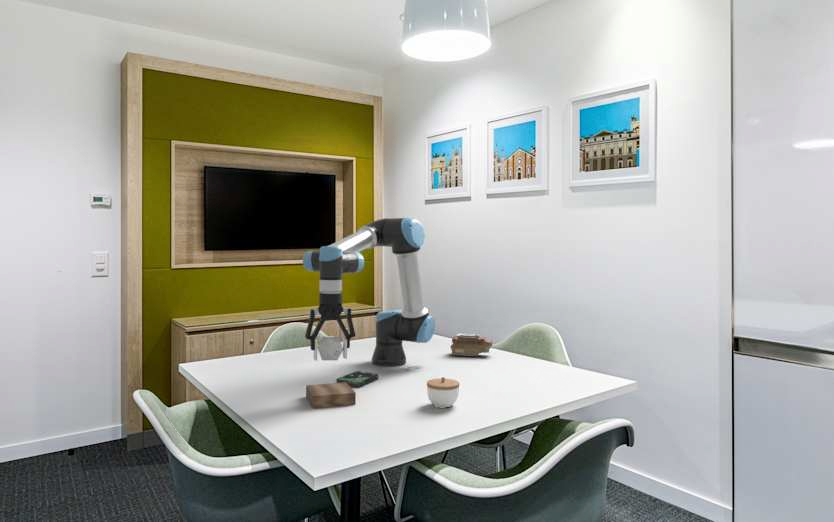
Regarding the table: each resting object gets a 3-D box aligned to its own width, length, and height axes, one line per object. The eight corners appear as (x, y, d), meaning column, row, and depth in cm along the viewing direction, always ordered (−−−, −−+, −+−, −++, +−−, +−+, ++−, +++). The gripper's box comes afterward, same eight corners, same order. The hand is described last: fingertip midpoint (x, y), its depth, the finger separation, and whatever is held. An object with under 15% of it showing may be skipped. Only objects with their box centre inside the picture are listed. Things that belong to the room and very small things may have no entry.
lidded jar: (425, 401, 190) (425, 373, 190) (456, 400, 191) (456, 373, 191) (428, 410, 179) (428, 381, 179) (461, 410, 180) (461, 381, 180)
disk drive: (355, 377, 223) (335, 386, 210) (355, 370, 223) (335, 378, 210) (378, 380, 219) (359, 389, 206) (379, 373, 219) (360, 381, 206)
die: (331, 365, 183) (347, 340, 186) (309, 351, 184) (326, 326, 187) (334, 368, 191) (350, 345, 193) (313, 355, 192) (329, 331, 195)
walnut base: (345, 393, 198) (346, 382, 198) (355, 404, 185) (355, 392, 185) (306, 396, 194) (306, 385, 193) (312, 408, 180) (313, 396, 180)
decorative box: (455, 351, 276) (455, 331, 275) (495, 354, 270) (496, 334, 269) (448, 356, 263) (448, 335, 263) (490, 359, 257) (491, 338, 257)
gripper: (359, 290, 195) (359, 354, 196) (295, 291, 188) (295, 358, 189) (365, 292, 188) (364, 359, 189) (299, 294, 181) (298, 363, 182)
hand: (330, 358), depth 189 cm, fingers closed on die, 9 cm apart
